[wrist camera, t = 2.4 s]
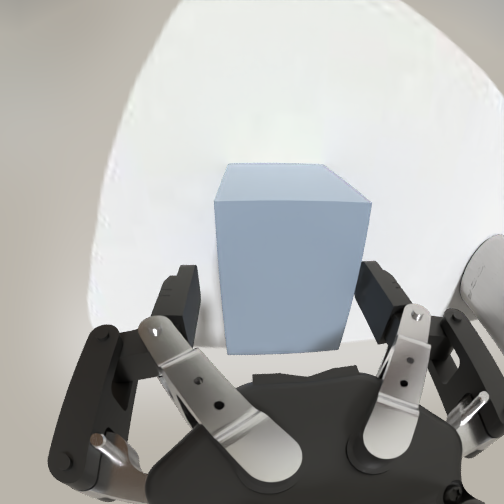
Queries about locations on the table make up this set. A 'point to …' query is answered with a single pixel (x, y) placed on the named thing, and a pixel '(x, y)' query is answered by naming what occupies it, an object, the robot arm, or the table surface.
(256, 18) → the table surface
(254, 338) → the blue-grey block
